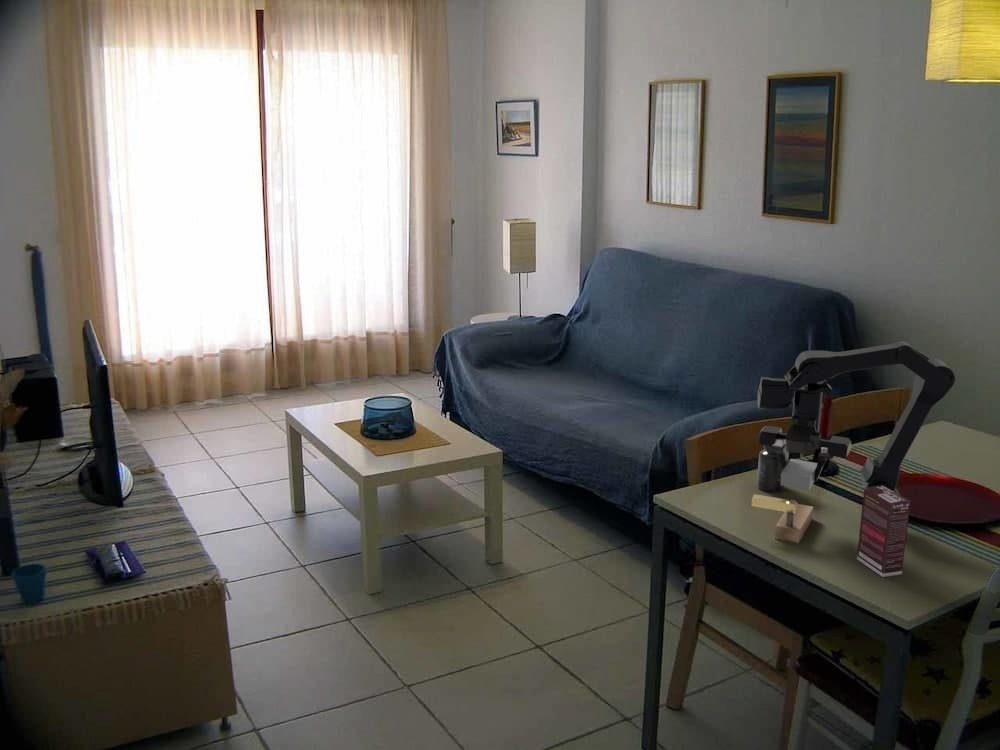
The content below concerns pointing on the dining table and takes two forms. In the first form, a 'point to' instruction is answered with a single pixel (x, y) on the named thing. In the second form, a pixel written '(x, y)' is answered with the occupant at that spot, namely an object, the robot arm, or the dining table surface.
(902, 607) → the dining table surface
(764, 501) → the tan rectangular bar
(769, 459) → the supplement bottle
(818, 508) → the dining table surface
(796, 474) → the cover
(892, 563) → the supplement box
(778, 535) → the key box
